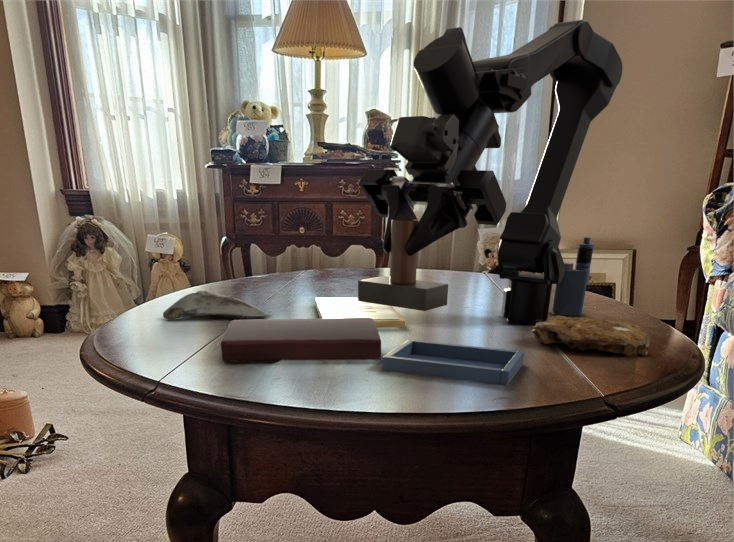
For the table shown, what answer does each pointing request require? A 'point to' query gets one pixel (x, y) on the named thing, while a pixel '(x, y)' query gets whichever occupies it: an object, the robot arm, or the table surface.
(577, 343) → the decorative rock
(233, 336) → the book
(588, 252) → the vaping device
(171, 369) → the table surface
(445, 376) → the tray
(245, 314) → the fossil
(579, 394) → the table surface
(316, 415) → the table surface
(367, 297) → the eraser
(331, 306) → the board
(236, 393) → the table surface
